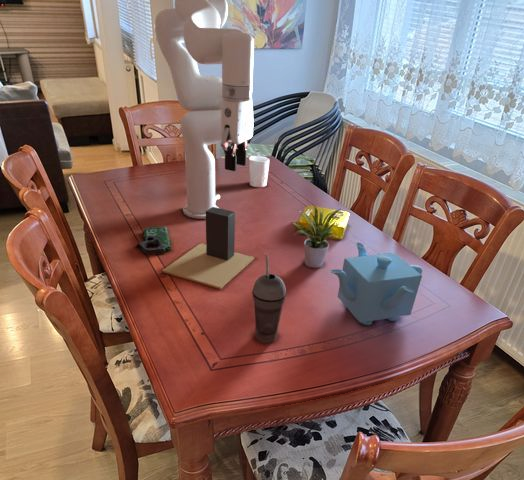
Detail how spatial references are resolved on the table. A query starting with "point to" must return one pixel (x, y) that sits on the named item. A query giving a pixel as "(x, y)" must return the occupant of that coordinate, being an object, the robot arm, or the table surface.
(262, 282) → the beverage cup
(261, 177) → the white cup
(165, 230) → the gun
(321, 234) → the house plant
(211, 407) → the table surface
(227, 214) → the black device
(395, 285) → the teakettle
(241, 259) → the cork mat
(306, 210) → the yellow package
